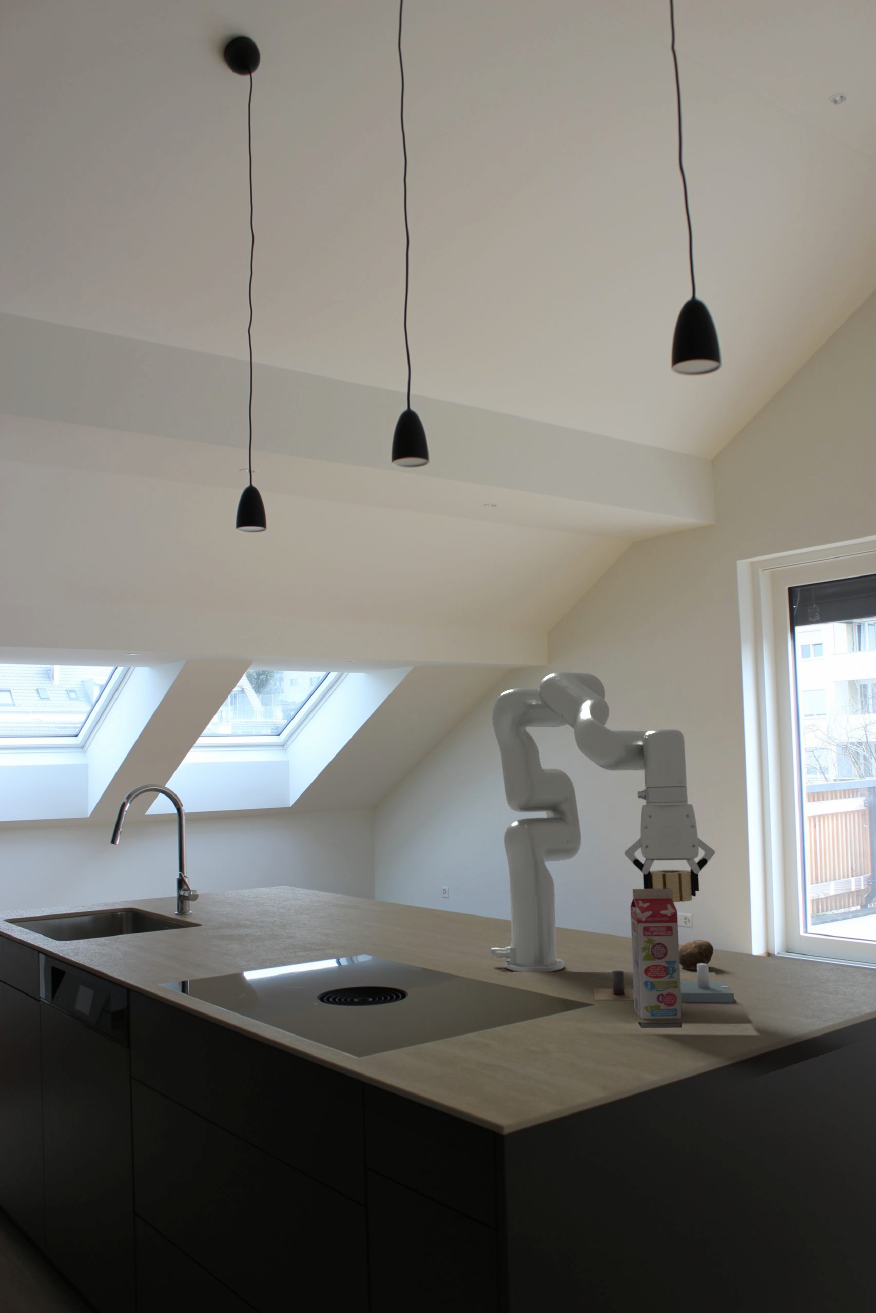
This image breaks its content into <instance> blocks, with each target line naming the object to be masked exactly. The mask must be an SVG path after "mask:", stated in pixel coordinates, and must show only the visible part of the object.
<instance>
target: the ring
mask: <svg viewBox="0 0 876 1313" xmlns="http://www.w3.org/2000/svg"><path fill="white" fill-rule="evenodd" d="M650 874H651V875H652V889H671V890H672V893H673V898H672V900H673V903H680V902H683V903H685V902H690V901H693V896H692V893H691V875H690V870H683V869H658V870H650Z"/></svg>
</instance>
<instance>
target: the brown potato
mask: <svg viewBox="0 0 876 1313" xmlns="http://www.w3.org/2000/svg"><path fill="white" fill-rule="evenodd" d="M713 955H714V947H713V945H712V943H711V942H710V941H708V940H703V939H695V940H692V941H687V942H686V943H684V944H683V945H682V946H681V947H680V948H679V966H681V967H682V968H683V969H685V970H689V971H690V970H691V971H694V970H696V971H697V964H700V963H703V964H708V965H709V963H710V962H711V961H712V957H713Z"/></svg>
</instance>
